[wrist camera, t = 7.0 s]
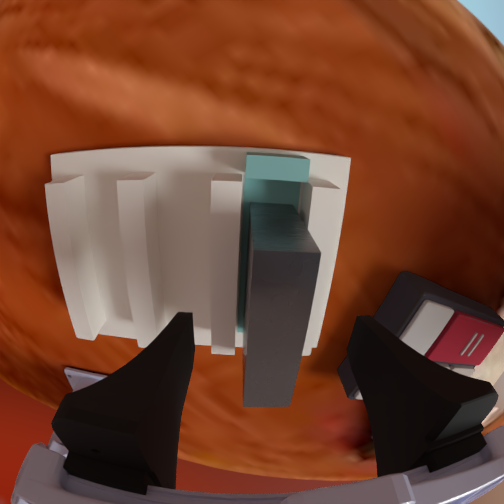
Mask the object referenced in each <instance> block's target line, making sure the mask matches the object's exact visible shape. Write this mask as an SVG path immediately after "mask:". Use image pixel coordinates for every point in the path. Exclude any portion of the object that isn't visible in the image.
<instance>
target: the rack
mask: <svg viewBox="0 0 504 504" xmlns="http://www.w3.org/2000/svg"><path fill="white" fill-rule="evenodd" d="M350 161H351V158H349V157H346V156H339V155H331V154H323V153H314V152H304V151H294V150H282V149H269V148H254V147H233V146H141V147H121V148H106V149H94V150H83V151H73V152H64V153H57V154H53V155H51V172H52V181H51V182H49V183H46V184H45V193H46V202H47V210H48V218H49V225H50V231H51V237H52V243H53V248H54V253H55V258H56V263H57V268H58V272H59V276H60V281H61V285H62V289H63V293H64V296H65V300H66V304H67V307H68V311H69V314H70V318H71V321H72V324H73V327H74V330H75V333H76V336H77V338H82V339H87V340H93V341H94V340H95V338H96V336H97V335H98V334H103V335H110V336H117V337H125V338H133V339H137V342H138V346H139V347H142V348H146V347H147V346H148V345H149V344H150V343H151V342H152V341H153V340H154V339H155V338H156V337H157V336H158V335H159V333H160V332H161V331H162V330H163V329H164V328H165V327H166V326H167V324H168V323H169V322H170V321H171V320H172V318H173V317H174V316H175V315H176V313H178V312H192V313H193V327H194V342H195V345H210V346H211V349H212V354H227V355H235V347H243V314H244V296H245V278H246V260H247V243H248V226H249V209H250V202H259V203H276V204H292V205H293V206H294V207H295V209H296V211H297V212H298V214H299V216H300V217H301V219H302V221H303V222H304V224H305V226H306V227H307V229H308V231H309V232H310V234H311V236H312V238H313V239H314V241H315V243H316V244H317V246H318V248H319V250H320V251H321V259H320V265H319V271H318V276H317V282H316V288H315V293H314V298H313V304H312V309H311V314H310V319H309V324H308V329H307V334H306V338H305V343H304V348H303V352H302V356H308V355H310V354H311V349H312V348H313V347H317V344H318V340H319V336H320V332H321V328H322V323H323V319H324V314H325V310H326V305H327V301H328V296H329V291H330V287H331V282H332V277H333V272H334V266H335V261H336V256H337V250H338V244H339V239H340V233H341V226H342V220H343V214H344V207H345V200H346V193H347V186H348V178H349V170H350Z"/></svg>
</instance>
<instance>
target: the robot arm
mask: <svg viewBox="0 0 504 504" xmlns="http://www.w3.org/2000/svg"><path fill="white" fill-rule="evenodd" d="M194 353H195V342H194V327H193V313H192V312H178V313H176V315H175V316H174V317H173V318H172V320H171V321H170V322H169V323H168V324H167V326H166V327H165V328H164V329H163V330H162V331H161V332H160V333H159V335H158V336H157V337H156V338H155V339H154V340H153V341H152V342H151V343H150V344H149V345H148V346H147V347H146V348H145V349H144V350H143V351H142V352H140V353H139V354H138V355H137V356H136V357H135V358H133V359H132V360H131V361H130V362H128V363H127V364H126V365H124V366H123V367H121V368H120V369H118V370H117V371H115V372H114V373H112V374H110V375H109V376H107V375H101V374H96V373H91V372H87V371H82V370H78V369H73V368H69V367H66V368H65V370H64V372H65V374H66V376H67V378H68V380H69V383H70V385H71V387H72V389H73V392H72V393H69V394H66V395H65V397H64V398H63V400H62V402H61V404H60V406H59V408H58V410H57V412H56V414H55V416H54V418H53V420H52V423H51V424H52V428H53V430H54V432H53V434H52V437H51V439H50V442H49V444H47V445H44V444H43V443H39V444H33V445H32V447H31V448H30V450H29V452H28V454H27V456H26V458H25V460H24V462H23V464H22V466H21V469H20V471H19V474H18V477H17V479H16V483H15V487H14V492H13V494H12V497H11V503H12V504H468V503H470V502H471V501H473V500H475V499H476V498H478V497H480V496H482V495H483V494H485V493H487V492H488V491H490V490H491V489H492V488H494V487H495V486H497V484H499V483H500V482H502V481H503V480H504V426H500V427H498V428H496V429H494V430H493V431H490V432H489V433H487V434H486V435H485V436H483V435H482V433H481V431H483V429H484V427H483V425H482V424H481V423H482V421H483V420H484V419H485V418H486V416H487V415H488V414H489V413H490V411H491V410H492V409H493V407H494V406H495V404H496V402H497V399H498V394H497V392H496V391H495V389H494V388H493V386H492V385H491V383H490V382H487V381H483V380H479V379H475V378H471V377H468V376H465V375H462V374H459V373H457V372H454V371H452V370H450V369H448V368H445V367H443V366H441V365H439V364H437V363H435V362H433V361H432V360H430V359H428V358H427V357H425V356H423V355H422V354H420V353H419V352H417V351H416V350H414V349H413V348H411V347H410V346H408V345H407V344H406V343H404V342H403V341H402V340H400V339H399V338H398V337H397V336H395V335H394V334H393V333H392V332H390V331H389V330H388V329H387V328H385V327H384V326H383V325H382V324H380V323H379V322H378V321H376V320H375V319H374V318H372V317H371V316H369V315H367V316H357V318H356V322H355V325H354V328H353V332H352V335H351V338H350V341H349V345H348V348H347V353H348V358H349V362H350V366H351V370H352V372H353V375H354V378H355V380H356V383H357V385H358V388H359V391H360V393H361V396H362V398H363V401H364V404H365V406H366V409H367V413H368V416H369V421H370V425H371V430H372V435H373V441H374V446H375V454H376V462H377V475H378V477H377V478H373V479H368V480H364V481H359V482H354V483H348V484H343V485H337V486H331V487H323V488H317V489H312V490H307V491H302V492H295V493H279V494H217V493H204V492H193V491H182V490H176V489H175V488H176V466H177V453H178V442H179V432H180V423H181V415H182V410H183V406H184V402H185V397H186V393H187V389H188V385H189V381H190V377H191V373H192V369H193V362H194Z"/></svg>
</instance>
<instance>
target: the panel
mask: <svg viewBox="0 0 504 504" xmlns="http://www.w3.org/2000/svg"><path fill="white" fill-rule="evenodd" d="M320 259H321V251H320V250H319V248H318V246H317V244H316V243H315V241H314V239H313V238H312V236H311V234H310V232H309V231H308V229H307V227H306V226H305V224H304V222H303V221H302V219H301V217H300V216H299V214H298V212H297V211H296V209H295V207H294V206H293V205H292V204H276V203H259V202H250V209H249V226H248V243H247V260H246V278H245V296H244V314H243V407H285V406H290V403H291V399H292V395H293V391H294V387H295V383H296V379H297V374H298V370H299V366H300V361H301V357H302V352H303V348H304V343H305V338H306V334H307V329H308V324H309V319H310V314H311V309H312V304H313V298H314V293H315V288H316V282H317V276H318V271H319V265H320Z"/></svg>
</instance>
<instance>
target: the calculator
mask: <svg viewBox="0 0 504 504" xmlns="http://www.w3.org/2000/svg"><path fill="white" fill-rule="evenodd" d="M373 318H374V319H375V320H376V321H378V322H379V323H380V324H382V325H383V326H384V327H385V328H387V329H388V330H389V331H390V332H392V333H393V334H394V335H395V336H397V337H398V338H399V339H400V340H402V341H403V342H404V343H406V344H407V345H408V346H410V347H411V348H413V349H414V350H416V351H417V352H419V353H420V354H422V355H423V356H425V357H427V358H428V359H430V360H432V361H433V362H435V363H437V364H439V365H441V366H443V367H445V368H448V369H450V370H452V371H454V372H457V373H459V374H462V375H465V376H468V377H470V376H471V375H472V374H473V372H474V371H475V369H474V367H475V366H476V365H480V364H481V362H482V361H483V360H484V359H485V357H486V356H487V355H488V353H489V352H490V351H491V349H492V348H493V346H494V345H495V344H496V342H497V341H498V339H499V338H500V337H501V335H502V334H503V332H504V328H503V327H504V320H503V319H502V318H501V317H500V316H499V315H498V314H497V313H496V312H495V311H494V310H493V309H492V308H490V307H488V306H486V305H483V304H481V303H479V302H477V301H475V300H472V299H470V298H468V297H465V296H463V295H460V294H458V293H456V292H453V291H451V290H448V289H446V288H443V287H441V286H439V285H438V284H436V283H434V282H432V281H430V280H427V279H425V278H423V277H420V276H418V275H416V274H413V273H411V272H408V271H402V272H401V273H400V274H399V276H398V277H397V279H396V281H395V282H394V284H393V286H392V288H391V289H390V291H389V293H388V294H387V296H386V298H385V299H384V301H383V303H382V304H381V306H380V307H379V309H378V311H377V312H376V314H375V315H374V317H373ZM337 371H338V374H339V377H340V379H341V382H342V384H343V387H344V390H345V392H346V395H347V397H348V398H349V399H360V400H363V398H362V396H361V393H360V391H359V388H358V385H357V383H356V380H355V378H354V375H353V372H352V370H351V366H350V362H349V358H348V355H347V357H346V358H345V359H344V361H343V362H342V363H341V365H340V366H339V368H338V369H337Z"/></svg>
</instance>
